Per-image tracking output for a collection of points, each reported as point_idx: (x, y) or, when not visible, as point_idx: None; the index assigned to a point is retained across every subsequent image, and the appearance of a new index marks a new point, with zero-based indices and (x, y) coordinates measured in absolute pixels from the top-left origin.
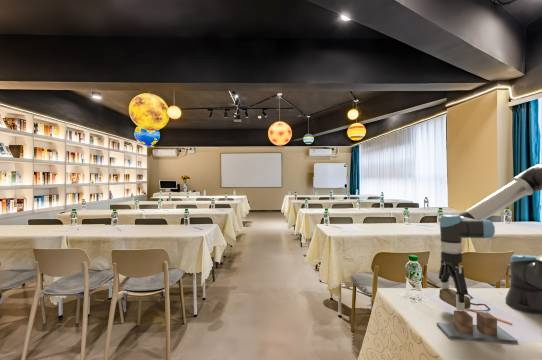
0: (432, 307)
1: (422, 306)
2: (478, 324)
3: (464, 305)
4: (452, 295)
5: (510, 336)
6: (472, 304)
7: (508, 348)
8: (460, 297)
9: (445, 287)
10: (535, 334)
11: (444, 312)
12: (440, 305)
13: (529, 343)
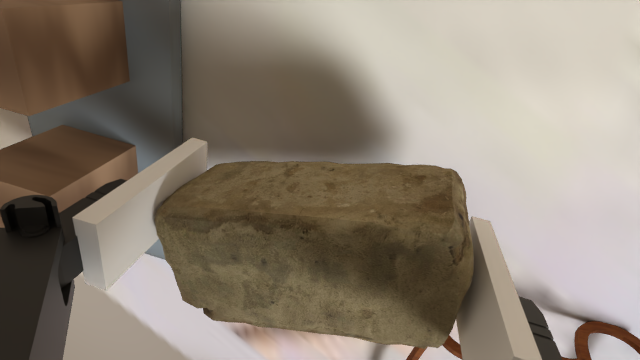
0: (505, 98)
1: (562, 7)
2: (96, 153)
3: None
4: (233, 217)
5: None
6: (412, 352)
7: (8, 145)
8: (68, 207)
9: (479, 326)
10: (161, 332)
11: (392, 130)
12: (518, 192)
13: None
